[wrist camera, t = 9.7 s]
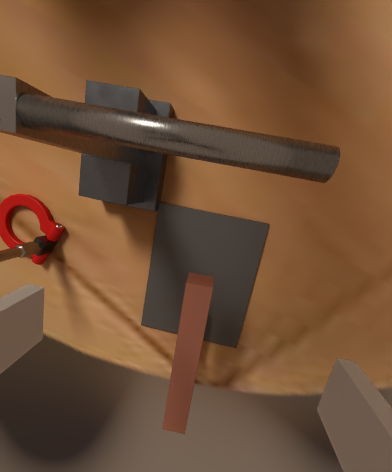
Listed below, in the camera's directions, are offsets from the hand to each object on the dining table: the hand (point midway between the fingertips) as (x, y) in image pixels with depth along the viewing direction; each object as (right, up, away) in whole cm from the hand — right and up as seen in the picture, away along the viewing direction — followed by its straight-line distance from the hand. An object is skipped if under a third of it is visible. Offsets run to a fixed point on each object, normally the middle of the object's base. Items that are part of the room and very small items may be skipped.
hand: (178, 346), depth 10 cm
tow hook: (-23, +6, +22) cm, 32 cm away
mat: (+1, -1, +20) cm, 20 cm away
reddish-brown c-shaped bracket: (+2, +2, +14) cm, 14 cm away
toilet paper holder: (-1, +14, +18) cm, 22 cm away
